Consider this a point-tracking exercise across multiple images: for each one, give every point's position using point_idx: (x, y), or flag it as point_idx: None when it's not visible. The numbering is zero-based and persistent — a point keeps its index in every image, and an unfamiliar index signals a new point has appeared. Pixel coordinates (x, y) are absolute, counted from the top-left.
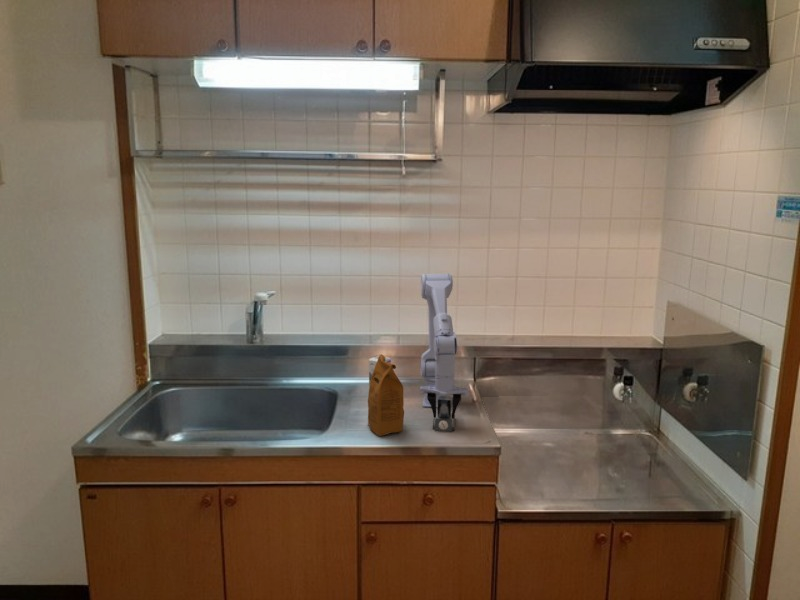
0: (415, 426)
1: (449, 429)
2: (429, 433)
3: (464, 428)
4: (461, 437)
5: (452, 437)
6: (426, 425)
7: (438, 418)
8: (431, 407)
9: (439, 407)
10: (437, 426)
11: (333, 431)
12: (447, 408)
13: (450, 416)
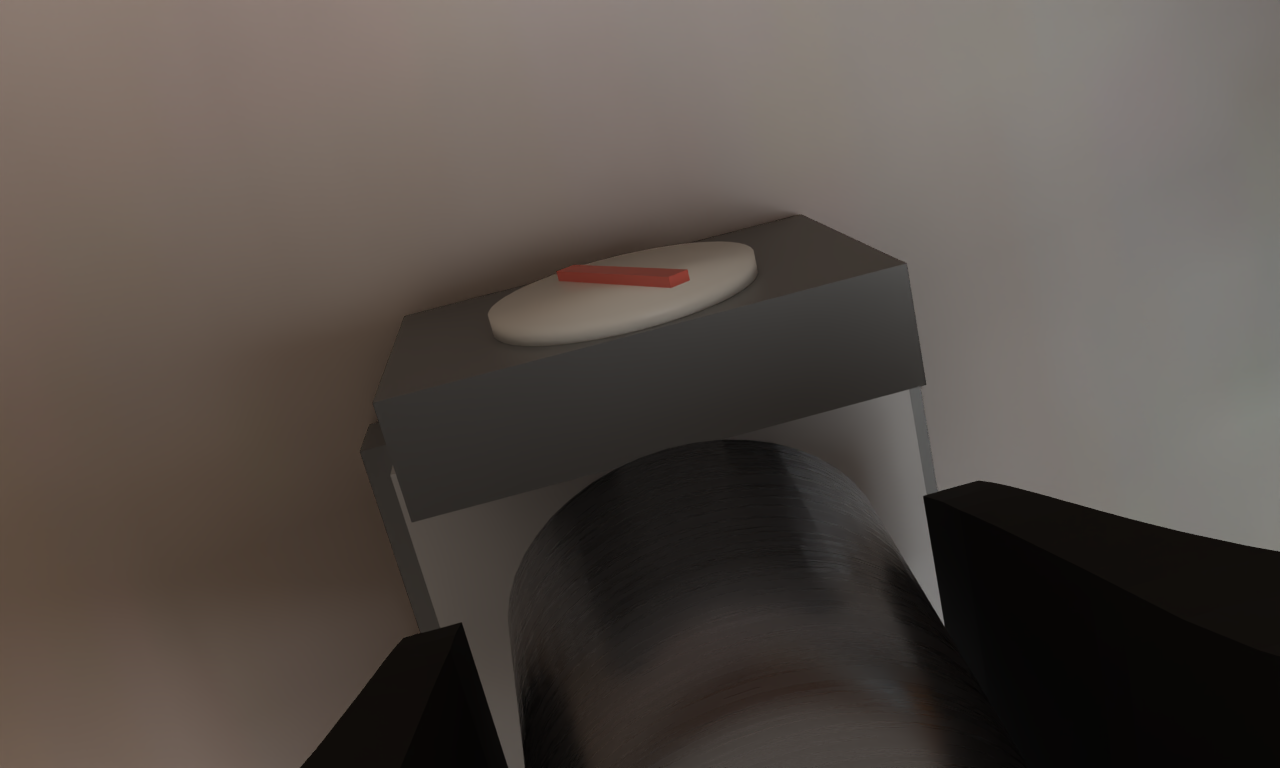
0: (1273, 296)
1: (453, 314)
2: (894, 38)
3: (182, 619)
4: (50, 97)
5: (275, 11)
6: (1050, 438)
7: (829, 410)
8: (1276, 555)
9: (960, 713)
10: (773, 250)
11: None
12: (623, 761)
13: (514, 674)
